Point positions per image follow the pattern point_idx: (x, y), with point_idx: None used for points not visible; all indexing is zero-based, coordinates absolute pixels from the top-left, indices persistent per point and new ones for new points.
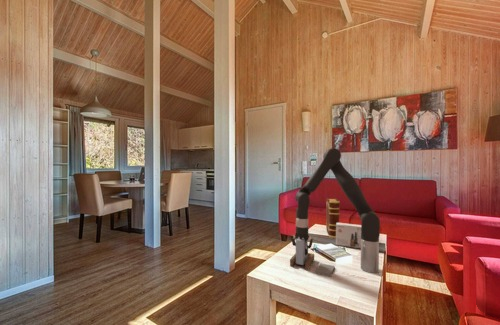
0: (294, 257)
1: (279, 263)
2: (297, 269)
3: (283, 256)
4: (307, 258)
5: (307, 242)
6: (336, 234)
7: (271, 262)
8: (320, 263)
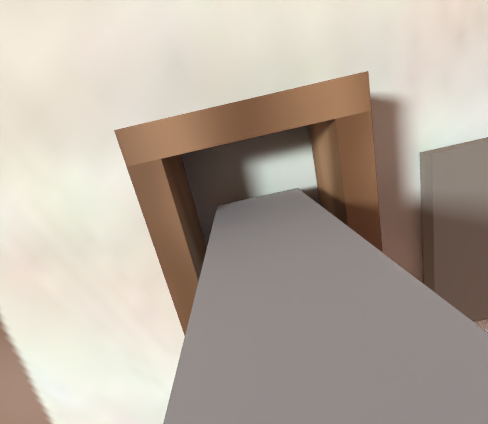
0: None
1: (123, 367)
2: None
3: (33, 230)
4: (302, 193)
5: (473, 343)
6: None
7: (66, 392)
8: (435, 163)
